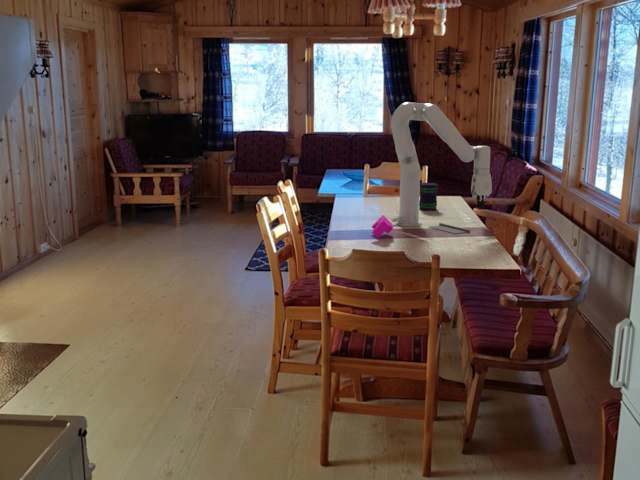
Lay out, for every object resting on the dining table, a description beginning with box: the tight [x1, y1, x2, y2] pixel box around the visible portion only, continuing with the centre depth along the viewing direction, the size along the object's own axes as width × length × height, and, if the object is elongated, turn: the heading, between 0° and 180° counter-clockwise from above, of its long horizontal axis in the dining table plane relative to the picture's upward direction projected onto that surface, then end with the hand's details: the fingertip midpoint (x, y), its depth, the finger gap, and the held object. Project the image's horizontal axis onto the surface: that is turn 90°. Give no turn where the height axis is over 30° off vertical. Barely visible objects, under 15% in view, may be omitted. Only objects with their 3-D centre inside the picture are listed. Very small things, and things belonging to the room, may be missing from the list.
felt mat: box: [428, 224, 467, 235], centre depth 307 cm, size 7×18×1 cm, turn 32°
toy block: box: [371, 215, 394, 239], centre depth 295 cm, size 15×6×8 cm
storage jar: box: [419, 182, 439, 212], centre depth 359 cm, size 10×10×15 cm
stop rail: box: [438, 222, 471, 234], centre depth 309 cm, size 1×20×1 cm, turn 32°
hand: (480, 208), depth 316 cm, fingers closed
